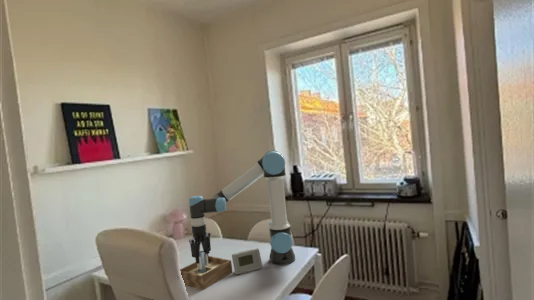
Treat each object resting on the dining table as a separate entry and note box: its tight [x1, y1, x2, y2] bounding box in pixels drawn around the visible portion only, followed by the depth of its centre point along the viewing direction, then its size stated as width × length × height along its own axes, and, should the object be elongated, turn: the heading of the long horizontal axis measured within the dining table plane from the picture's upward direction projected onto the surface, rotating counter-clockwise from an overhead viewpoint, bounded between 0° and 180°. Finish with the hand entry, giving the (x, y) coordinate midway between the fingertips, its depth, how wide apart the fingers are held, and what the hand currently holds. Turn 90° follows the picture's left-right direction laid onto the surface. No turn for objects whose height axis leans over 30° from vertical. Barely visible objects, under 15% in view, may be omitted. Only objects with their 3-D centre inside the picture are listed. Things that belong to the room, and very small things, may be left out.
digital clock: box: [231, 247, 263, 275], centre depth 179 cm, size 16×9×11 cm, turn 100°
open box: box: [179, 255, 233, 291], centre depth 174 cm, size 18×22×7 cm
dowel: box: [198, 250, 206, 274], centre depth 176 cm, size 4×4×14 cm
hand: (203, 266), depth 175 cm, fingers open, 4 cm apart
